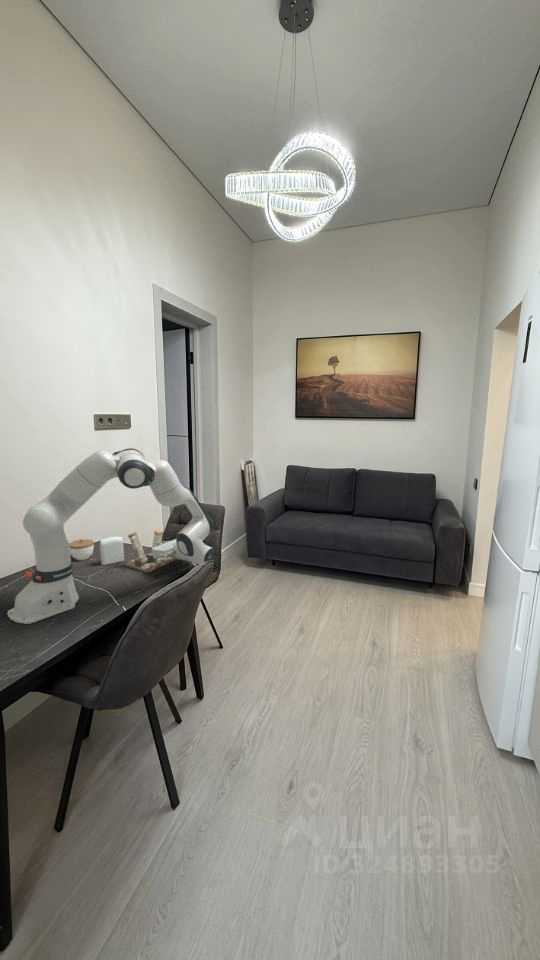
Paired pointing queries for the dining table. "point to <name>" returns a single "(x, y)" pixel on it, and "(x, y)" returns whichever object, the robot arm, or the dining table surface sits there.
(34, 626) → the dining table surface
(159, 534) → the lever
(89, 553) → the lidded jar
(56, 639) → the dining table surface
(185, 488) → the robot arm
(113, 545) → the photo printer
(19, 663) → the dining table surface
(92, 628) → the dining table surface
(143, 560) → the console
